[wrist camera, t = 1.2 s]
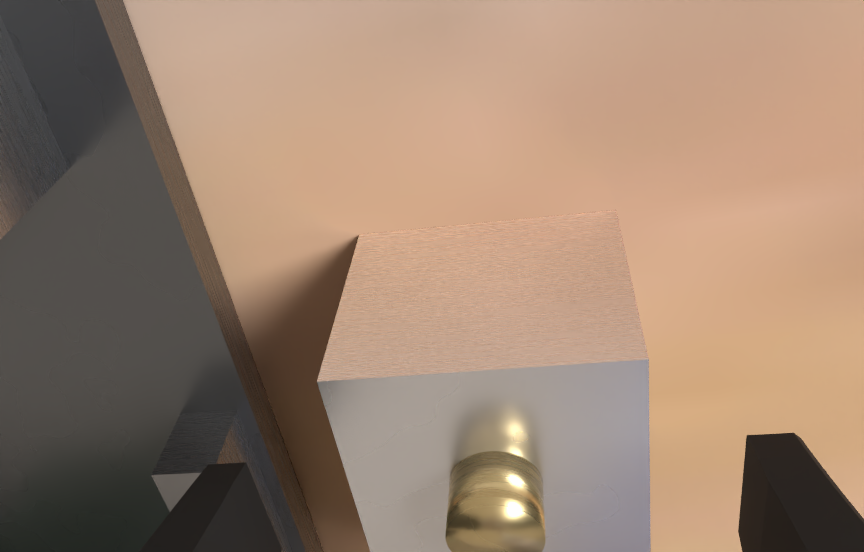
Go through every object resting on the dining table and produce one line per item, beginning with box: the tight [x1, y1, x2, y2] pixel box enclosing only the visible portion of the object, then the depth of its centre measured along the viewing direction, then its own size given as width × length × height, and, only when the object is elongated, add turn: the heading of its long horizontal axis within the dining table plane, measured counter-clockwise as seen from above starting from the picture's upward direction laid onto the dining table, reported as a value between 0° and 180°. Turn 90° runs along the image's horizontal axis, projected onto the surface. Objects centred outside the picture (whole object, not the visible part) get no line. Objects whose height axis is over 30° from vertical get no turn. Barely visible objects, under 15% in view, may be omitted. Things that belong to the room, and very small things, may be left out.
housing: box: [317, 210, 650, 552], centre depth 13 cm, size 4×4×5 cm
